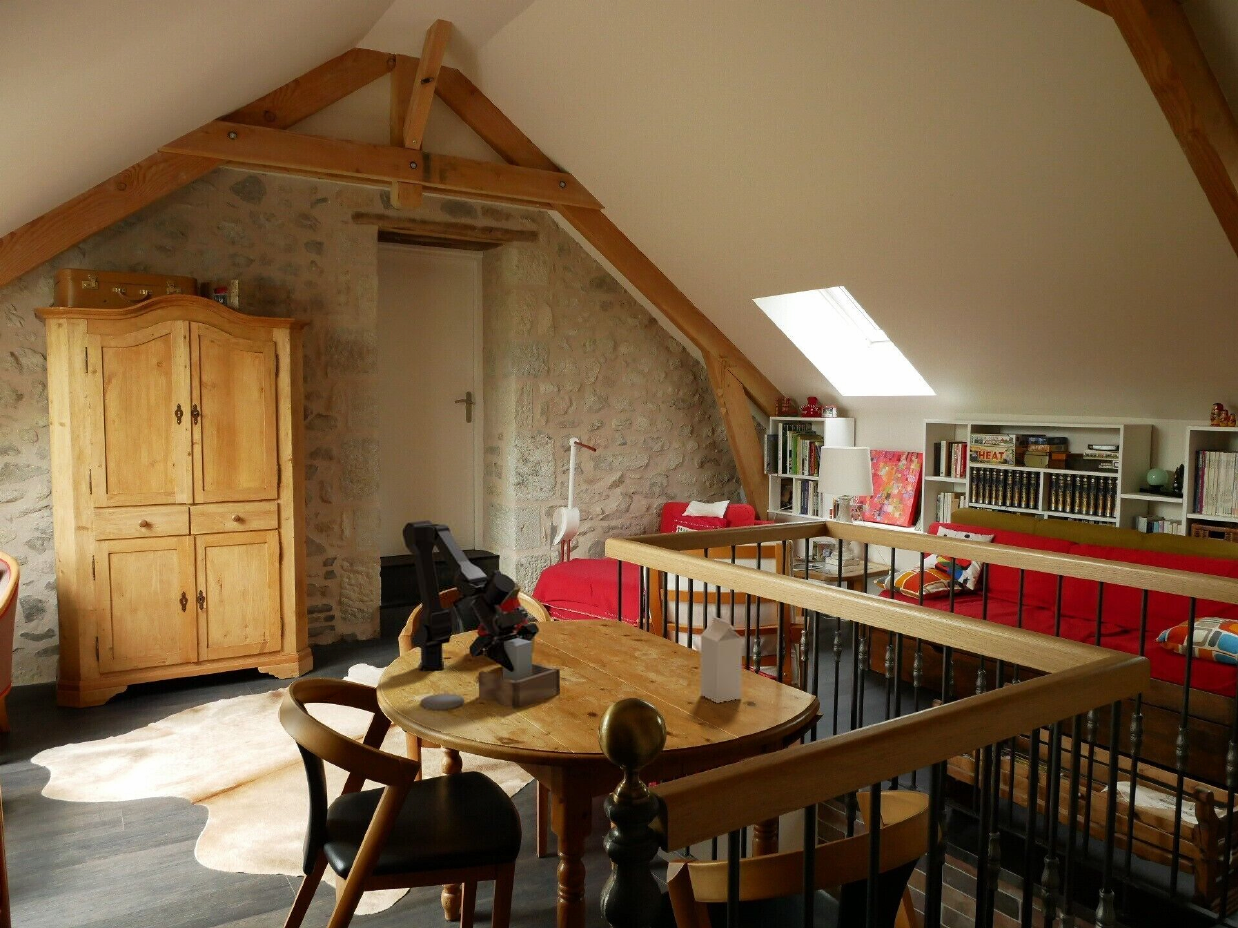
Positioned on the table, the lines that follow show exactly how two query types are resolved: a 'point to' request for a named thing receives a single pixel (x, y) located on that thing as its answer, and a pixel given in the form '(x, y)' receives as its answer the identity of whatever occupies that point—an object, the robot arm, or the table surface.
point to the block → (518, 659)
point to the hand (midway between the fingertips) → (521, 668)
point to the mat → (442, 701)
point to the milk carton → (721, 662)
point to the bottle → (508, 607)
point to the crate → (520, 687)
